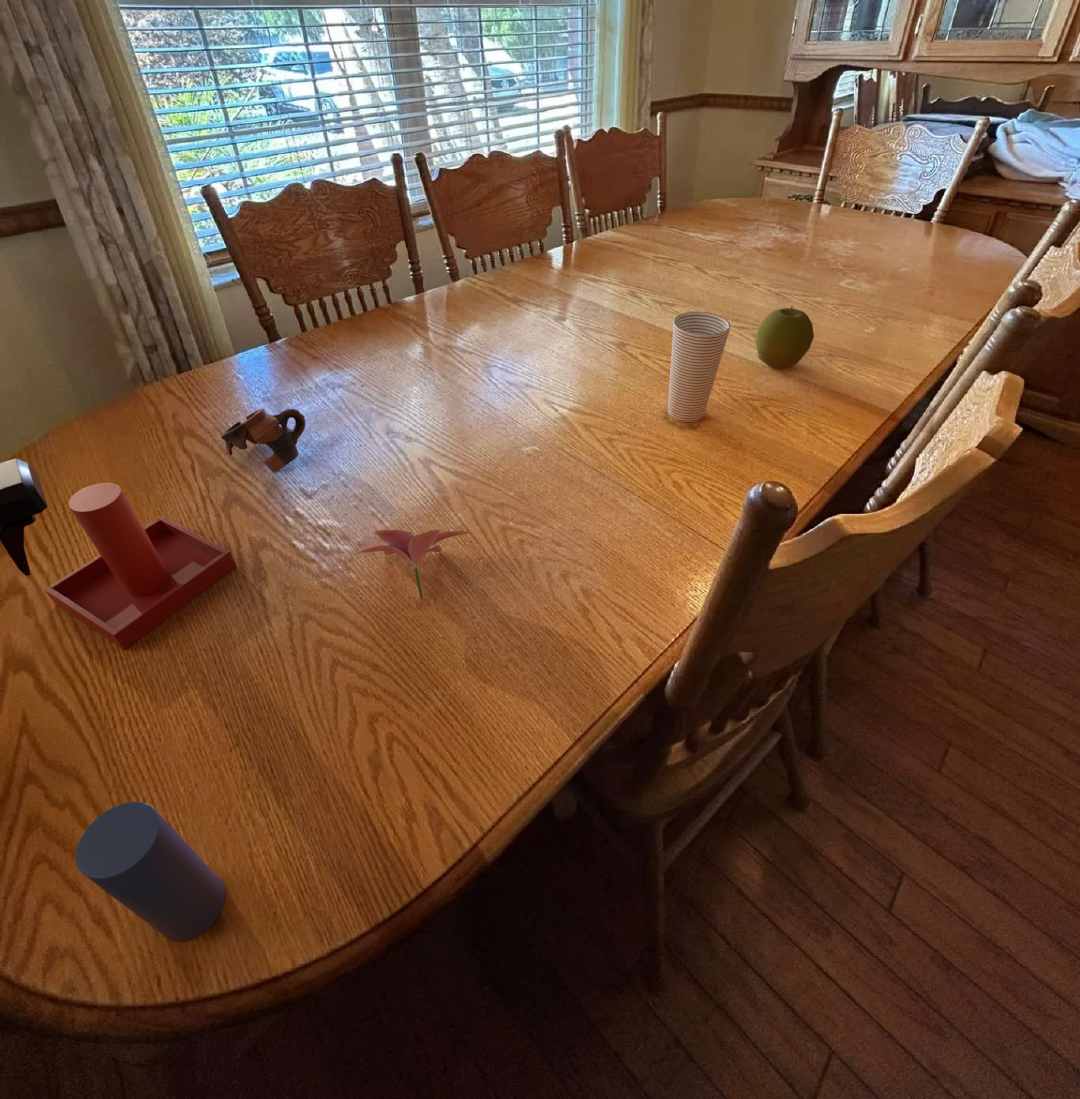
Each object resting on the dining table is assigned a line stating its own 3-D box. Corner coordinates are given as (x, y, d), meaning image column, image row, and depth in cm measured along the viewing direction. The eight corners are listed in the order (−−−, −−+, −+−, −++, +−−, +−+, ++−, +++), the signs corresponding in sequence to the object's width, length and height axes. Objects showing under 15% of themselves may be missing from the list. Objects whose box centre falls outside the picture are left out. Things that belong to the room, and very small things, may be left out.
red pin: (157, 597, 74) (104, 512, 65) (115, 596, 74) (57, 510, 65) (176, 567, 78) (130, 483, 69) (137, 566, 78) (85, 481, 69)
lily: (487, 572, 79) (470, 498, 77) (446, 609, 69) (425, 524, 66) (405, 579, 84) (387, 510, 81) (355, 615, 73) (332, 536, 70)
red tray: (124, 650, 69) (113, 635, 67) (55, 604, 74) (43, 589, 72) (237, 566, 79) (230, 551, 77) (169, 530, 83) (161, 515, 82)
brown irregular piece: (259, 487, 91) (218, 440, 87) (250, 481, 99) (212, 438, 95) (326, 438, 95) (290, 391, 91) (312, 436, 103) (278, 393, 99)
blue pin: (167, 956, 48) (82, 896, 39) (151, 899, 51) (68, 831, 42) (233, 912, 50) (168, 845, 41) (214, 860, 53) (149, 787, 44)
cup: (716, 427, 102) (736, 335, 92) (663, 427, 102) (678, 335, 91) (705, 400, 108) (723, 311, 98) (656, 400, 108) (669, 311, 98)
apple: (795, 381, 113) (813, 321, 106) (743, 367, 117) (757, 309, 110) (810, 359, 120) (828, 301, 112) (759, 347, 123) (773, 290, 116)
